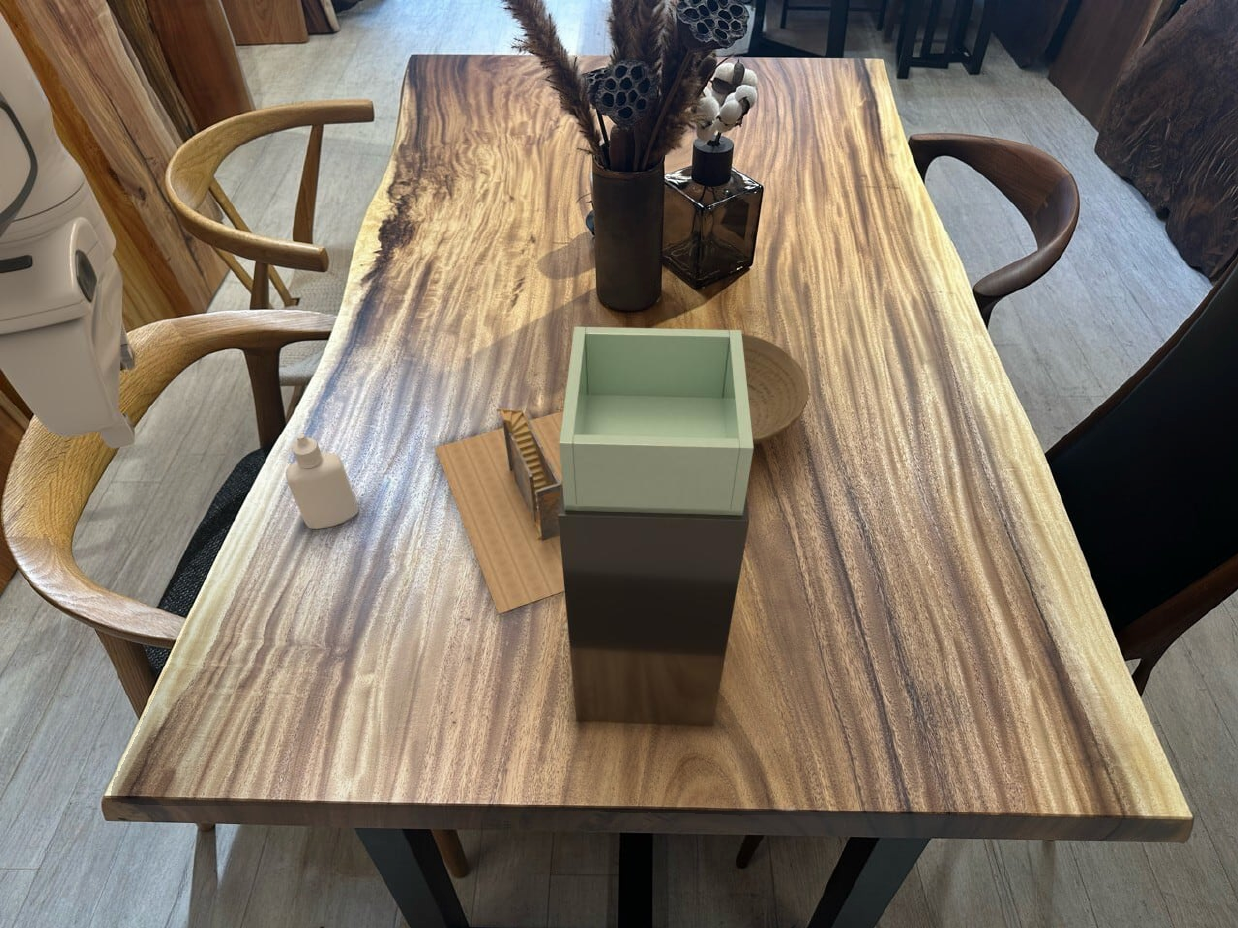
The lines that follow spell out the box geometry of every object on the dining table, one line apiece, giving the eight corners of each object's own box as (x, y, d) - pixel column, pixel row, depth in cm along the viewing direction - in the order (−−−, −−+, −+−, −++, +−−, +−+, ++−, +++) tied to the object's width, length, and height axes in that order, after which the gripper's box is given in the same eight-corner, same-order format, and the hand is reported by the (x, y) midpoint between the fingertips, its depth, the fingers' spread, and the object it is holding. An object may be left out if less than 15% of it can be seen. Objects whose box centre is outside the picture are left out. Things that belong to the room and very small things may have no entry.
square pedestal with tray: (576, 721, 71) (551, 447, 46) (585, 606, 79) (568, 322, 54) (713, 726, 70) (761, 453, 46) (708, 610, 79) (746, 326, 54)
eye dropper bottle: (314, 498, 89) (281, 419, 80) (364, 501, 88) (336, 422, 80) (300, 529, 86) (264, 450, 77) (351, 532, 85) (321, 453, 77)
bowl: (823, 473, 91) (836, 422, 85) (665, 499, 89) (668, 447, 83) (768, 371, 104) (777, 320, 98) (629, 391, 101) (629, 340, 95)
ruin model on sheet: (434, 447, 94) (419, 384, 87) (565, 410, 99) (561, 346, 92) (498, 614, 78) (486, 552, 71) (651, 560, 83) (653, 497, 76)
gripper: (-7, 175, 57) (84, 335, 67) (-52, 333, 44) (70, 503, 54) (91, 160, 59) (166, 318, 69) (76, 307, 46) (172, 477, 55)
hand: (124, 401), depth 61 cm, fingers open, 8 cm apart
